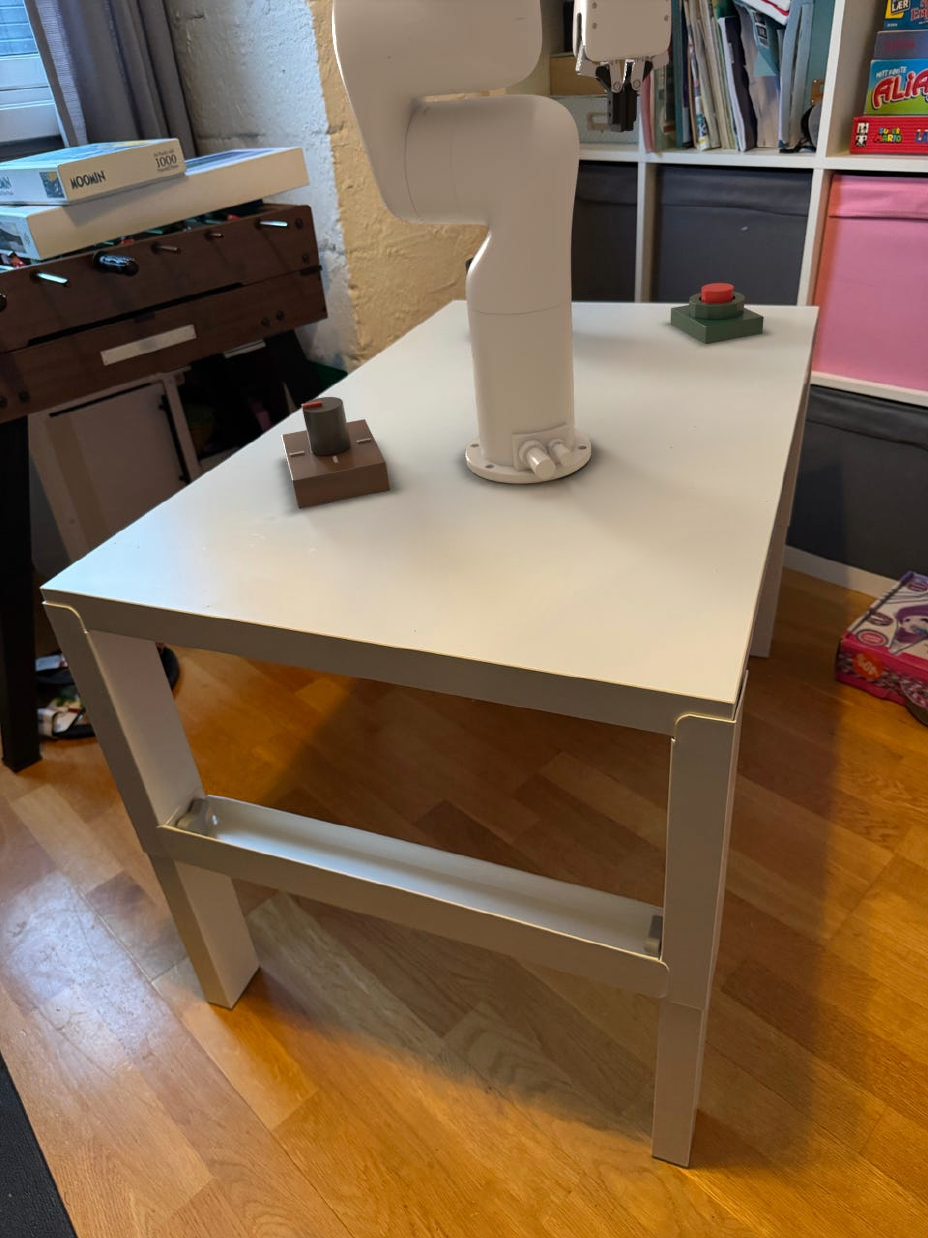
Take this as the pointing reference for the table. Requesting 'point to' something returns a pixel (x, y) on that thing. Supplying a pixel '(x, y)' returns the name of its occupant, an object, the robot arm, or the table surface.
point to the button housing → (716, 319)
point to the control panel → (335, 468)
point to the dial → (326, 425)
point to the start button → (717, 293)
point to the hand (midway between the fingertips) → (621, 130)
